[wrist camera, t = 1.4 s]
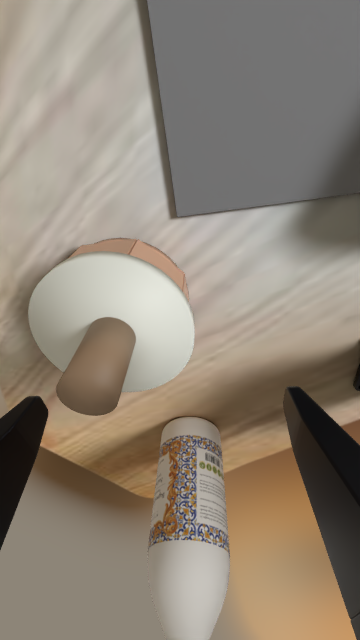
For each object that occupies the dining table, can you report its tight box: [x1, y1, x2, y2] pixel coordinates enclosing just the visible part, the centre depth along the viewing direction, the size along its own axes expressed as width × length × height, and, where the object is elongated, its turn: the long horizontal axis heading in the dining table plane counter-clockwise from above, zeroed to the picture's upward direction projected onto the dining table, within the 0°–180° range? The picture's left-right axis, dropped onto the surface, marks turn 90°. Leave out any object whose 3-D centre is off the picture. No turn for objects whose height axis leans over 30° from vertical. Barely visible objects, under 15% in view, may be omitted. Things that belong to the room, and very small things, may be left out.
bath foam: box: [148, 417, 230, 640], centre depth 24 cm, size 7×7×20 cm
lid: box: [28, 251, 195, 416], centre depth 17 cm, size 11×11×6 cm
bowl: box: [69, 238, 189, 301], centre depth 21 cm, size 10×10×4 cm
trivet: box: [147, 0, 360, 217], centre depth 14 cm, size 12×12×1 cm
